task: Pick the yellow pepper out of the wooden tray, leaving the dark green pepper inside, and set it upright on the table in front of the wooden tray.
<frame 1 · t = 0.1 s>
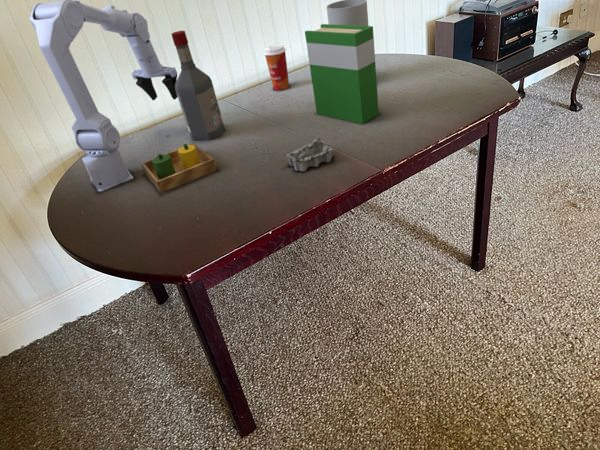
hand: (165, 98, 143), 11 cm above the table, tool pointing down, fingers open, 7 cm apart
yellow pepper: (192, 166, 124), point 1 cm above the table, touching wooden tray
liquor: (208, 136, 141), on the table
egg carton: (311, 162, 116), on the table
cylinder vase: (354, 83, 159), on the table
wooden tray: (180, 173, 123), on the table
paper cup: (281, 88, 167), on the table
hardback book: (347, 114, 138), on the table
green pepper: (167, 176, 121), point 1 cm above the table, touching wooden tray
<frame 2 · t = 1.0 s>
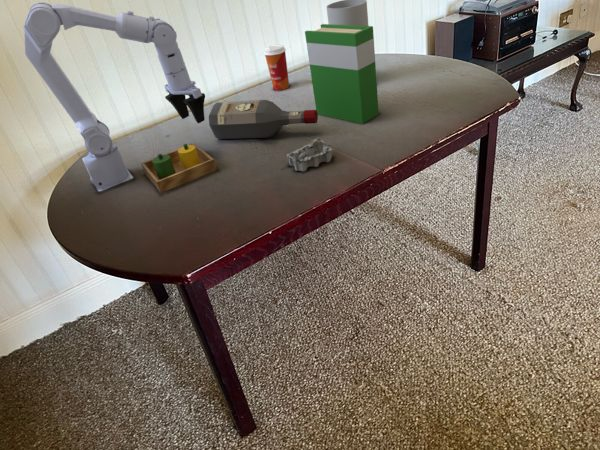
hand: (193, 119, 126), 10 cm above the table, tool pointing down, fingers open, 7 cm apart
liquor: (216, 121, 135), point 5 cm above the table
everything else where it was.
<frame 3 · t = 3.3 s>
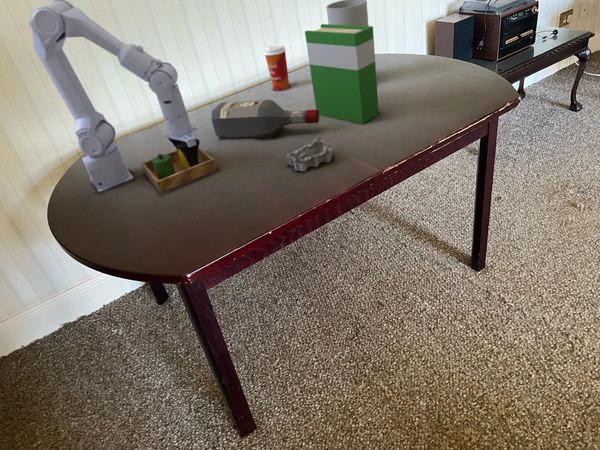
hand: (191, 163, 123), 2 cm above the table, tool pointing down, fingers closed on yellow pepper, 4 cm apart
yellow pepper: (192, 166, 124), point 1 cm above the table, touching wooden tray, gripper
liquor: (218, 121, 137), point 5 cm above the table
everything else where it was.
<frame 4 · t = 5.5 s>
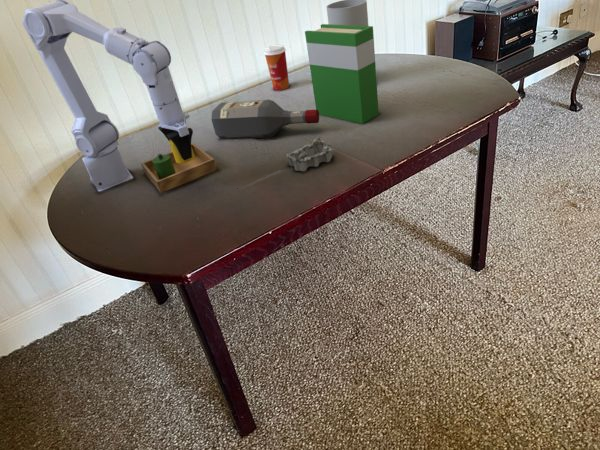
hand: (183, 155, 111), 8 cm above the table, tool pointing down, fingers closed on yellow pepper, 4 cm apart
yellow pepper: (185, 158, 112), point 7 cm above the table, touching gripper
everything else where it was.
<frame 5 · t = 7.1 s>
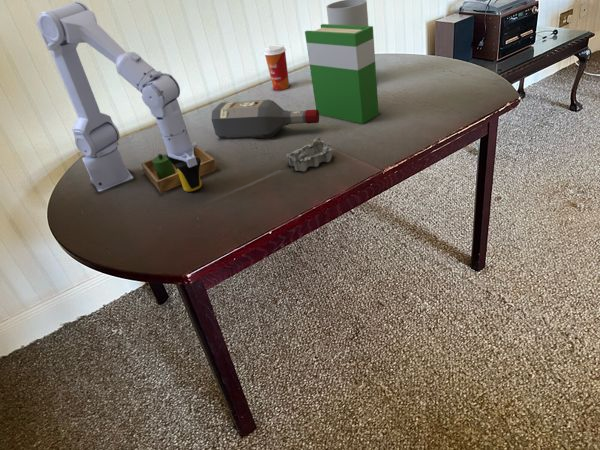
hand: (191, 183, 112), 2 cm above the table, tool pointing down, fingers closed on yellow pepper, 4 cm apart
yellow pepper: (192, 186, 113), point 1 cm above the table, touching gripper
everything else where it was.
when the fingers open (1 cm above the table, at t = 8.0 s): yellow pepper stays where it is, on the table.
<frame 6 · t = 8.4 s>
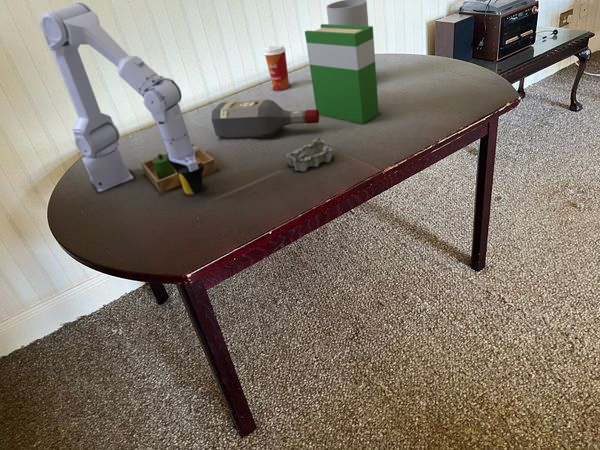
hand: (192, 186, 113), 1 cm above the table, tool pointing down, fingers open, 7 cm apart
yellow pepper: (194, 190, 114), on the table
everything else where it was.
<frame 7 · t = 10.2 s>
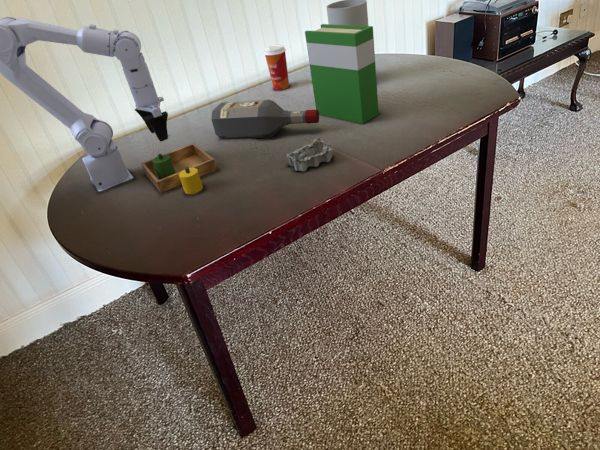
hand: (159, 135, 122), 9 cm above the table, tool pointing down, fingers open, 7 cm apart
nothing on the table moved.
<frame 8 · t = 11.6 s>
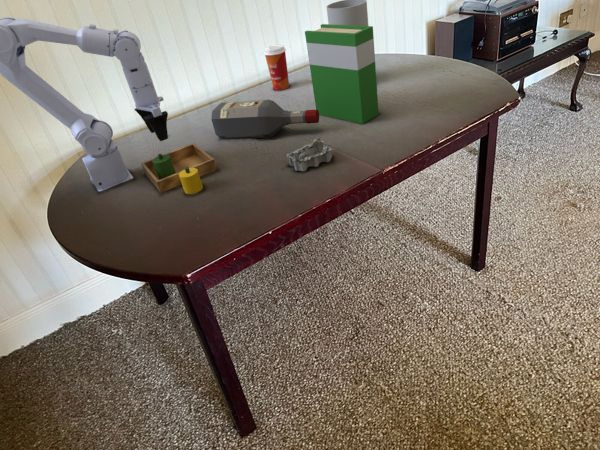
hand: (159, 135, 122), 9 cm above the table, tool pointing down, fingers open, 7 cm apart
nothing on the table moved.
at the end: yellow pepper inside the target area (0.8 cm from its centre), on the table; yellow pepper tilted 0°; green pepper inside the target area in the wooden tray (3.5 cm from its centre), point 0.6 cm above the wooden tray's base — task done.
